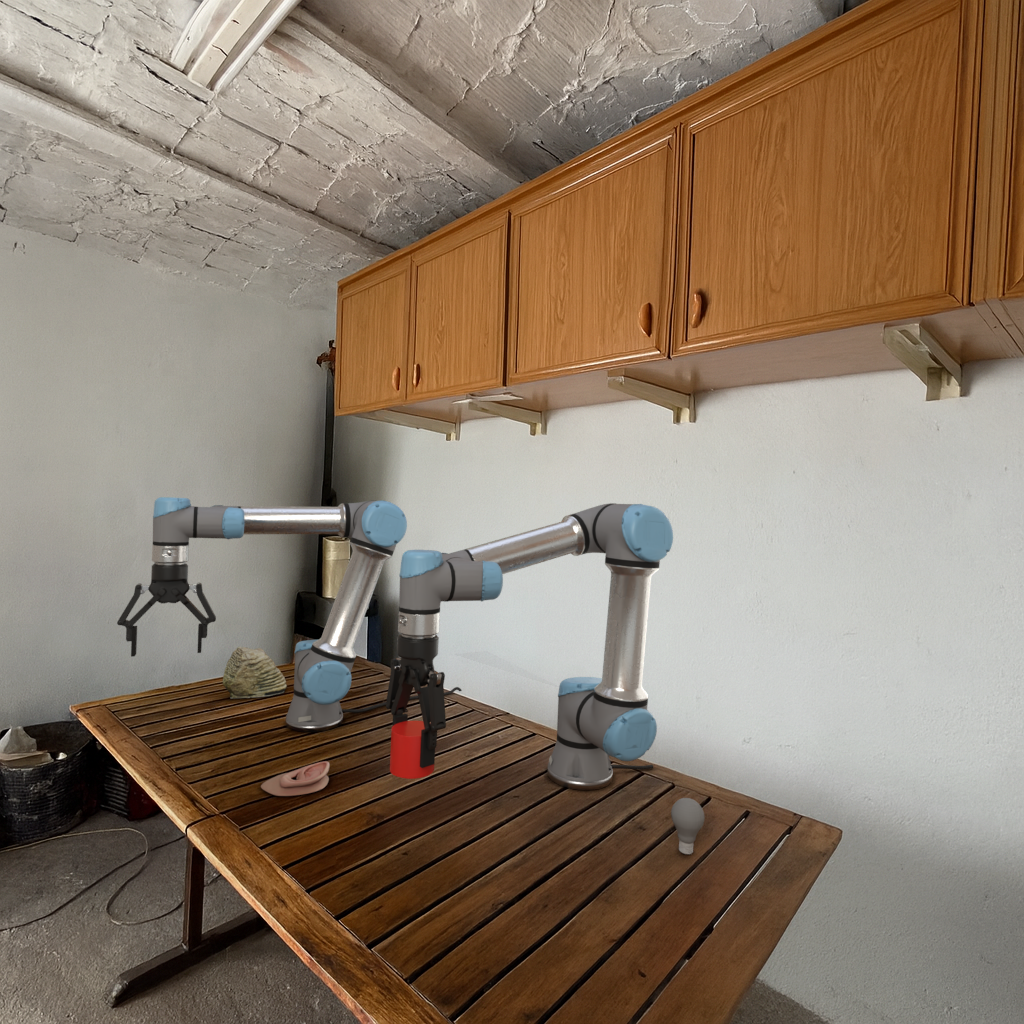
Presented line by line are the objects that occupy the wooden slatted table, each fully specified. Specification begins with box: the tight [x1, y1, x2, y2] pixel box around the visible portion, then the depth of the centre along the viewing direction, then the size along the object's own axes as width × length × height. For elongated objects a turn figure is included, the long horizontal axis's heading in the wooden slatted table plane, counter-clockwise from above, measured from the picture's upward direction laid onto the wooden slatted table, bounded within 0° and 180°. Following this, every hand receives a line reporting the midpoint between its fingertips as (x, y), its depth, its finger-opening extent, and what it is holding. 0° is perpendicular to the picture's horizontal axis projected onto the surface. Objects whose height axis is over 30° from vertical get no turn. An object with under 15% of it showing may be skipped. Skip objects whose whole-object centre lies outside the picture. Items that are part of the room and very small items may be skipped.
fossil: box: [222, 646, 288, 699], centre depth 198 cm, size 9×18×15 cm, turn 132°
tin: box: [389, 720, 436, 780], centre depth 116 cm, size 8×8×8 cm
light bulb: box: [670, 797, 706, 855], centre depth 118 cm, size 6×6×10 cm
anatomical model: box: [260, 760, 331, 797], centre depth 138 cm, size 13×4×12 cm
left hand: (167, 653), depth 149 cm, fingers open, 13 cm apart
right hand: (412, 757), depth 116 cm, fingers closed on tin, 8 cm apart
